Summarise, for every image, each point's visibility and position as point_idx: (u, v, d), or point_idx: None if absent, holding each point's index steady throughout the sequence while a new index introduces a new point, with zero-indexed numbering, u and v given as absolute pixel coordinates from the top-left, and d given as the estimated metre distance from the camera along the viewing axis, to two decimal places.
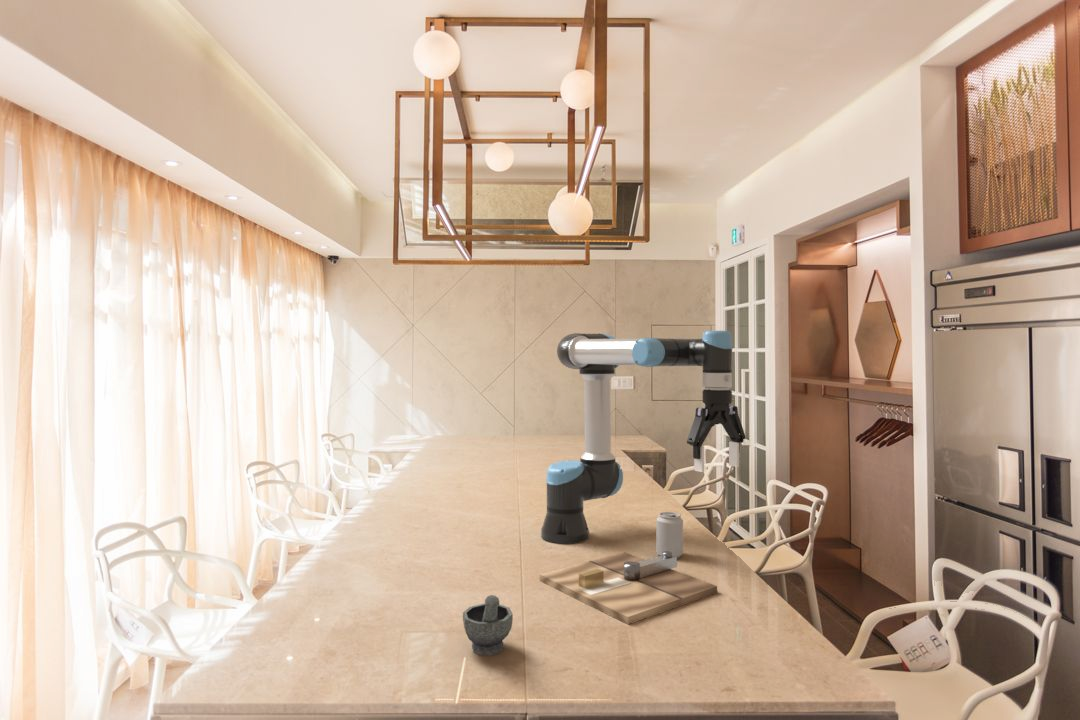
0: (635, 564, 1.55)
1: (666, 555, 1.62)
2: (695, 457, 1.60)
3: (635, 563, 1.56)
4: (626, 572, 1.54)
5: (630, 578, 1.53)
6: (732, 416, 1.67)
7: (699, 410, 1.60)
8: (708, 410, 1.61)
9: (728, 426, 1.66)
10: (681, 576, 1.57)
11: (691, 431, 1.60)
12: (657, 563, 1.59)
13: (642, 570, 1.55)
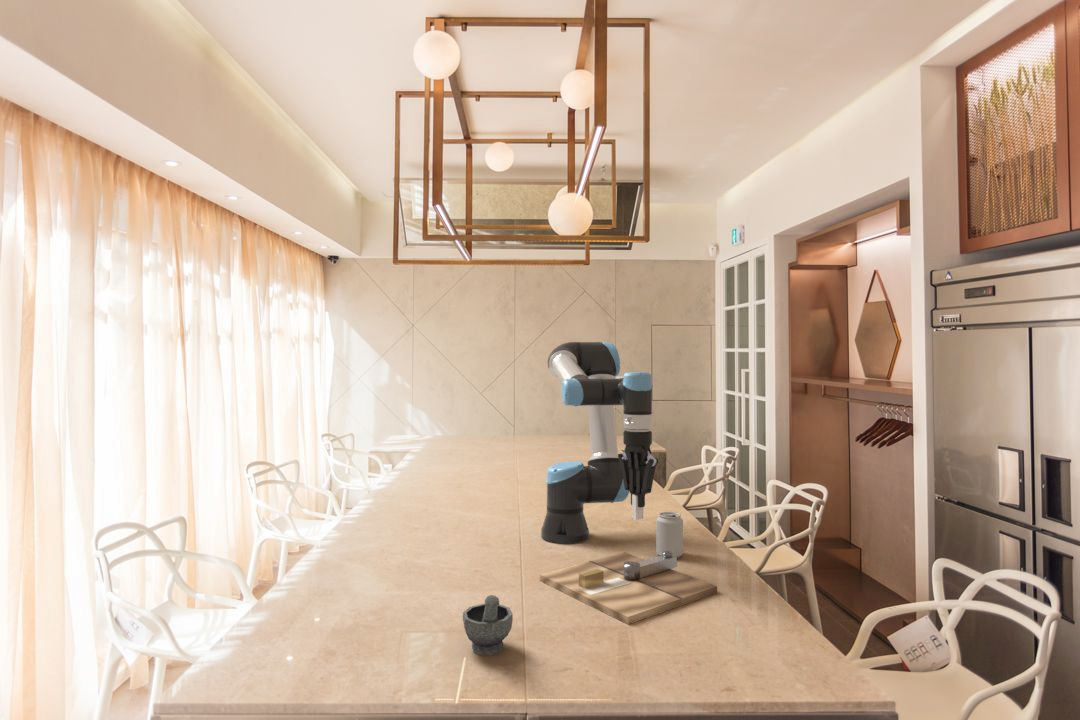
0: (635, 564, 1.55)
1: (666, 555, 1.62)
2: None
3: (635, 563, 1.56)
4: (626, 572, 1.54)
5: (630, 578, 1.53)
6: None
7: None
8: (625, 451, 1.67)
9: None
10: (681, 576, 1.57)
11: None
12: (657, 563, 1.59)
13: (642, 570, 1.55)
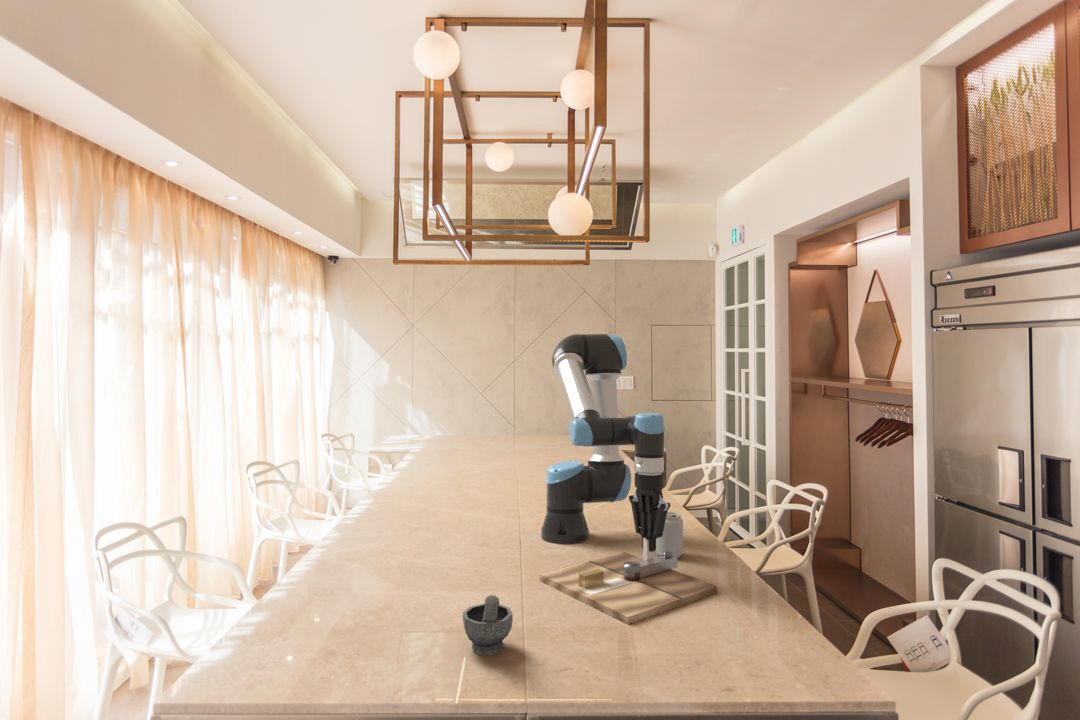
0: (635, 564, 1.55)
1: (667, 555, 1.62)
2: None
3: (635, 563, 1.56)
4: (626, 572, 1.54)
5: (630, 578, 1.53)
6: None
7: None
8: (636, 493, 1.65)
9: None
10: (681, 576, 1.57)
11: None
12: (657, 563, 1.58)
13: (642, 570, 1.55)
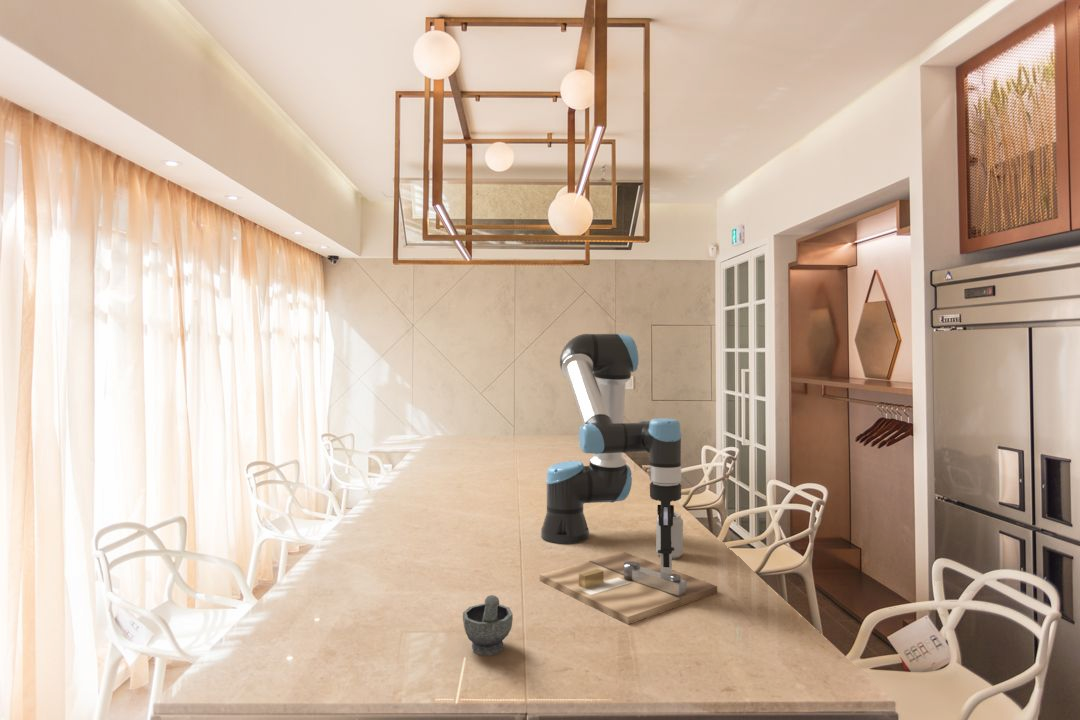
0: (631, 565, 1.54)
1: (670, 577, 1.46)
2: None
3: (634, 565, 1.54)
4: None
5: None
6: None
7: None
8: None
9: None
10: (681, 576, 1.57)
11: None
12: (652, 577, 1.49)
13: (635, 574, 1.53)
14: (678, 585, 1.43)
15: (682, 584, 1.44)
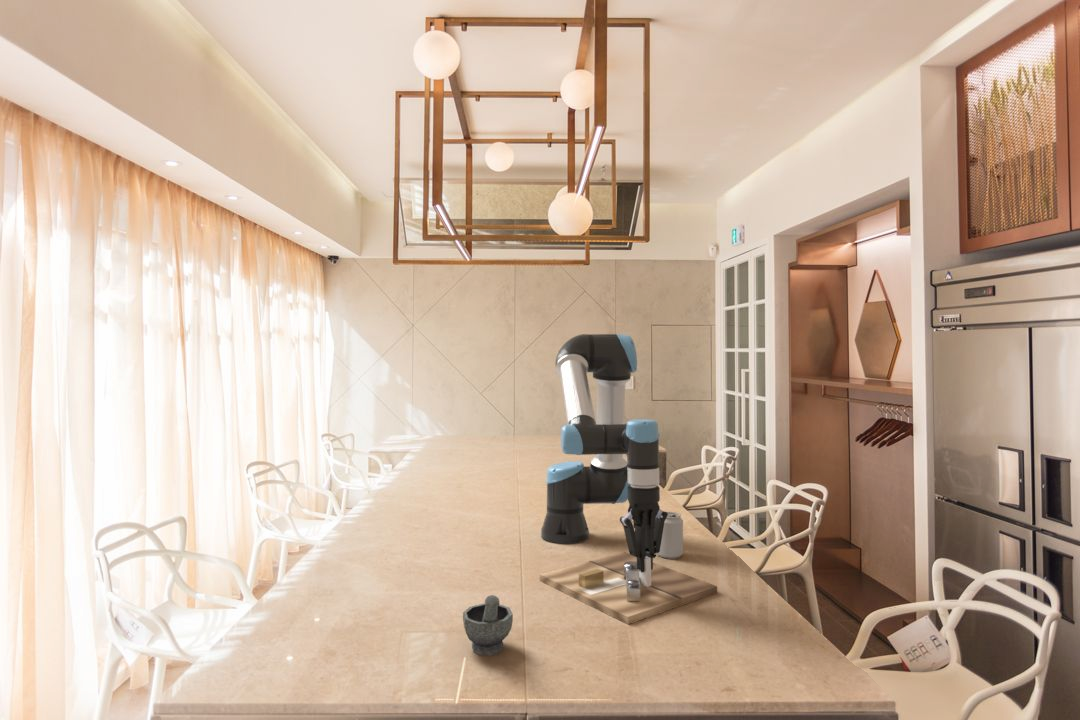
0: (628, 564, 1.55)
1: None
2: None
3: (631, 565, 1.54)
4: None
5: None
6: None
7: None
8: None
9: None
10: (681, 576, 1.57)
11: None
12: (626, 578, 1.48)
13: None
14: (627, 589, 1.41)
15: (633, 590, 1.40)
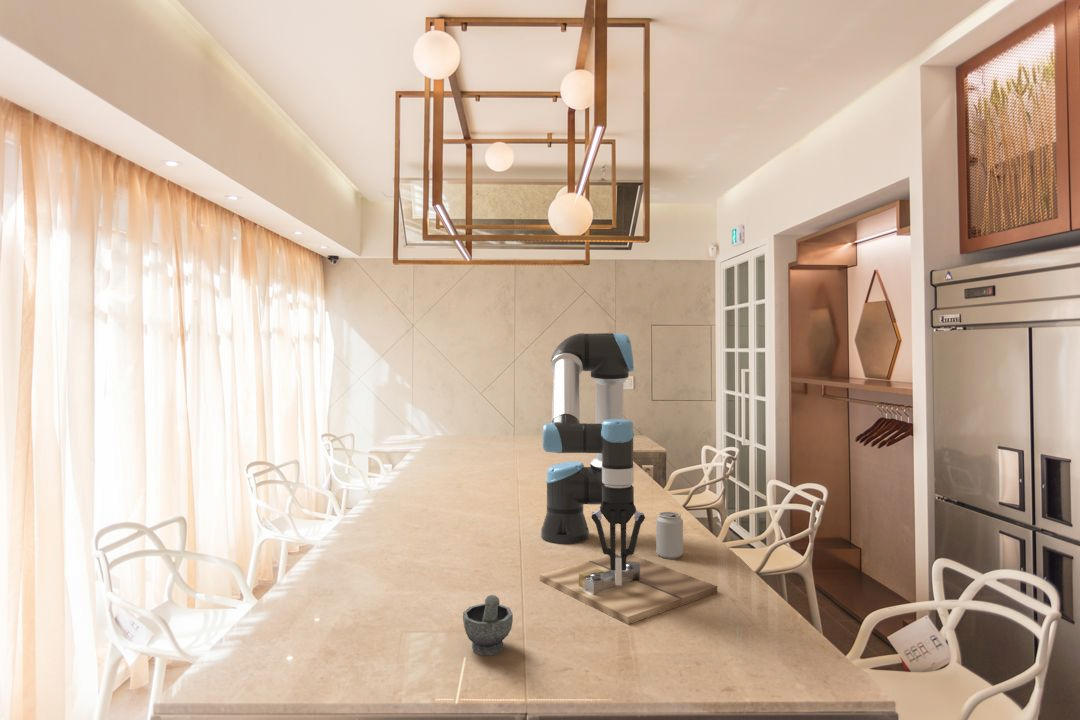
0: (628, 563, 1.56)
1: None
2: None
3: (628, 564, 1.55)
4: None
5: None
6: (600, 522, 1.48)
7: None
8: None
9: None
10: (681, 576, 1.57)
11: (636, 541, 1.46)
12: None
13: None
14: None
15: (589, 582, 1.46)
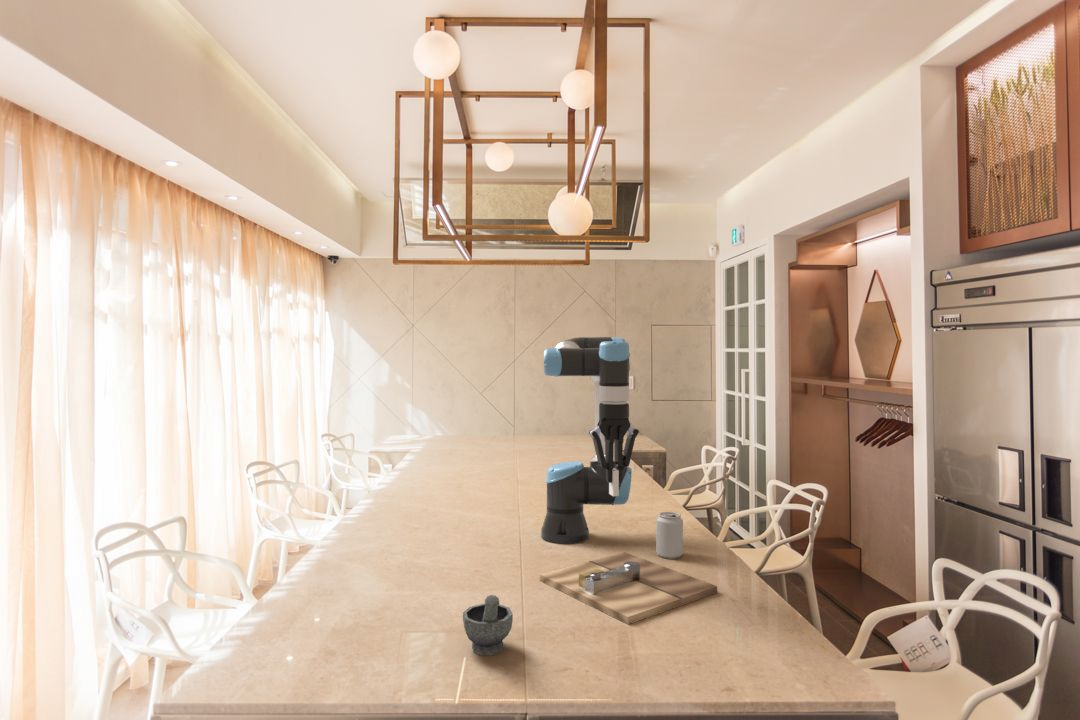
0: (628, 563, 1.56)
1: None
2: None
3: (628, 564, 1.55)
4: None
5: None
6: None
7: None
8: None
9: None
10: (681, 576, 1.57)
11: None
12: None
13: None
14: None
15: (589, 582, 1.46)
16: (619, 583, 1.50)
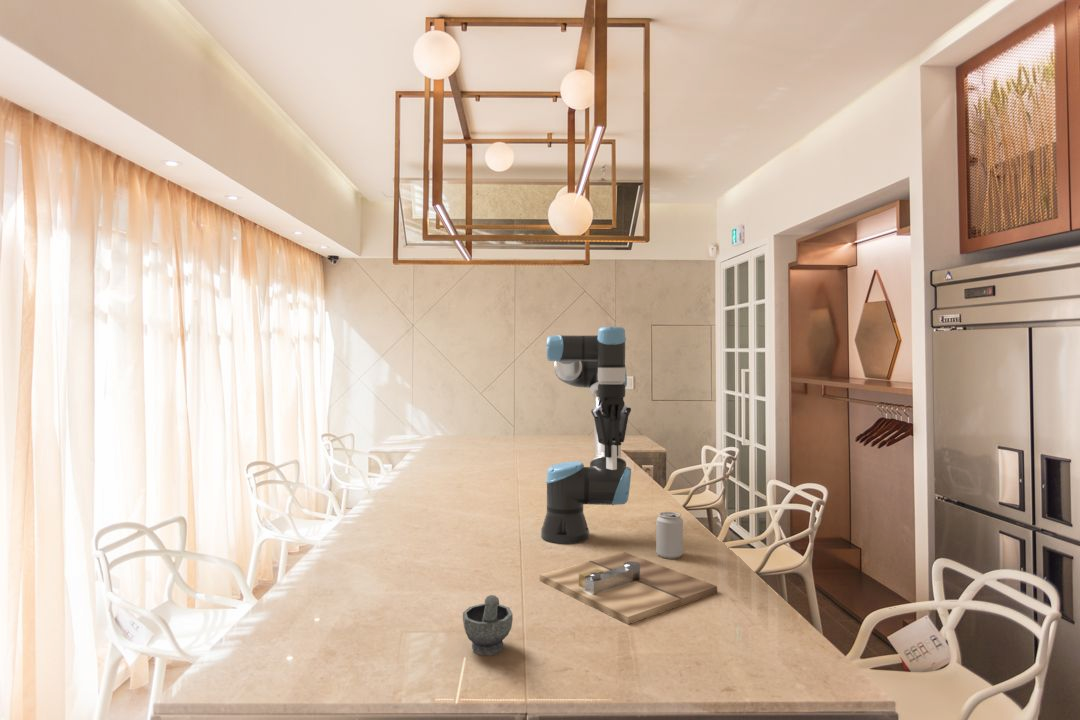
0: (628, 563, 1.56)
1: None
2: None
3: (628, 564, 1.55)
4: None
5: None
6: None
7: None
8: None
9: None
10: (681, 576, 1.57)
11: None
12: None
13: None
14: None
15: (589, 582, 1.46)
16: (619, 583, 1.50)
